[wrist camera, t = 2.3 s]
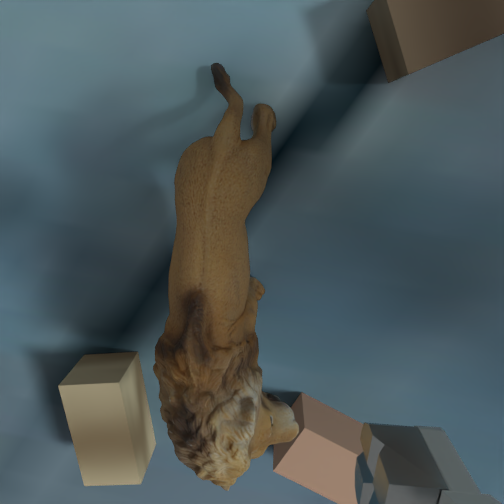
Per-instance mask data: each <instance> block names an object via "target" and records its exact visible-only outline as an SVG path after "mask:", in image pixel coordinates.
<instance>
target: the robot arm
mask: <svg viewBox="0 0 504 504" xmlns="http://www.w3.org/2000/svg"><path fill="white" fill-rule="evenodd" d="M360 441H361V444H362V448H363V452H362V453H361V454H360V455H359V456H357V459H356V466H355V492H356V499H357V504H502V503H500V502H499V501H498V500H496V499H495V498H494V497H492V496H491V495H489V494H481V492H480V490H479V489H478V487H477V485H476V484H475V482H474V480H473V479H472V477H471V475H470V474H469V472H468V470H467V468H466V467H465V465H464V463H463V462H462V460H461V458H460V457H459V455H458V453H457V452H456V450H455V448H454V446H453V445H452V443H451V441H450V440H449V438H448V436H447V435H446V433H445V431H444V430H443V429H441V428H440V427H428V426H414V427H413V426H402V425H389V424H377V423H364V425H363V427H362V431H361V436H360Z"/></svg>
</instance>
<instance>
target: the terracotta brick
mask: <svg viewBox="0 0 504 504" xmlns="http://www.w3.org/2000/svg"><path fill="white" fill-rule="evenodd" d="M291 409H292V411H293V413H294V418H295V421H296V422H297V424H298V426H299V432H298V434H297V436H296V437H295V438H294V439H293V440H292V441H290V442H282V443H277V444H274V454H273V471H274V472H276V473H278V474H280V475H282V476H284V477H286V478H288V479H290V480H292V481H294V482H296V483H298V484H300V485H302V486H304V487H306V488H308V489H310V490H312V491H314V492H316V493H318V494H320V495H322V496H324V497H326V498H328V499H330V500H332V501H334V502H336V503H338V504H357V499H356V492H355V466H356V459H357V456H359V455H360V454H361V453H362V452H363V448H362V444H361V441H360V436H361V431H362V427H363V425H364V424H362V423H360V422H358V421H356V420H354V419H352V418H350V417H348V416H346V415H345V414H343V413H341V412H339V411H337V410H335V409H333V408H331V407H329V406H327V405H325V404H323V403H322V402H320V401H318V400H316V399H314V398H312V397H310V396H308V395H306V394H304V393H302V392H301V394H300V395H299V396H298V398H297V399H296V401H295V402H294V404H293V405H292V406H291Z"/></svg>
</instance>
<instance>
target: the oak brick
mask: <svg viewBox="0 0 504 504" xmlns="http://www.w3.org/2000/svg"><path fill="white" fill-rule="evenodd" d="M58 387H59V391H60V395H61V399H62V402H63V406H64V410H65V414H66V418H67V421H68V425H69V429H70V433H71V437H72V440H73V444H74V448H75V452H76V456H77V459H78V463H79V467H80V471H81V475H82V478H83V482H84V486H101V485H130V484H141V483H142V480H143V477H144V475H145V472H146V469H147V467H148V464H149V461H150V459H151V456H152V453H153V451H154V448H155V445H156V442H155V437H154V431H153V426H152V421H151V416H150V411H149V406H148V401H147V395H146V390H145V385H144V380H143V375H142V370H141V365H140V359H139V354H138V352H123V353H106V354H89V355H84V356H83V357H82V358H81V359H80V360H79V362H78V363H77V364H76V365H75V366H74V368H73V369H72V370H71V371H70V372H69V373H68V375H67V376H66V377H65V378H64V379H63V381H62V382H61V383H60V384H59V385H58Z"/></svg>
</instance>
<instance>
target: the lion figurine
mask: <svg viewBox="0 0 504 504" xmlns="http://www.w3.org/2000/svg"><path fill="white" fill-rule="evenodd" d="M211 71H212V74H213V77H214V83H215V87H216V89H217V90H218V91H219V92H220V93H221V94H222V95H223V96H224V98H225V99H226V100H227V102H228V103H229V106H228V108H227V110H226V112H225V113H224V116H223V118H222V120H221V122H220V124H219V125H218V127H217V129H216V131H215V134H214V136H213V137H210V136H208V137H204V138H201V139H199V140H198V141H196V142H194V143H192V144H191V145H190V146H189V147H188V148H186V150H185V151H184V152H183V154H182V156H181V158H180V161H179V164H178V167H177V171H176V174H175V182H174V184H175V206H176V214H177V227H176V236H175V241H174V246H173V253H172V259H171V264H170V270H169V287H168V297H169V309H170V314H169V316H168V318H167V321H166V324H165V331H164V333H163V334H162V335H161V337H160V338H159V340H158V342H157V344H156V347H155V361H156V363H155V364H154V366H153V370H154V373H155V375H156V377H157V378H158V380H159V385H160V393H159V399H160V401H161V402H162V406H161V408H160V412H161V416H162V419H163V420H164V421H165V422H166V423H167V428H168V435H169V437H170V439H171V440H172V442H173V444H174V448H175V454H176V456H177V457H178V459H179V460H180V461H181V462H182V463H184V464H185V465H186V466H187V467H189V468H191V469H192V470H193V471H195V473H196V475H197V476H198V477H199V478H201V479H202V480H210V481H212V482H213V483H214V484H215V485H219V486H221V487H222V488H223V489H224V490H226V491H228V490H229V487H230V486H231V485H233V484H234V483H235V481H236V479H237V477H240V476H241V475H243V473H244V472H245V471H247V470H248V468H249V466H250V461H251V459H255V458H258V457H260V456H261V455H262V454H263V453H264V452H265V450H266V449H267V447H268V446H269V445H273V444H277V443H282V442H290V441H292V440H293V439H294V438H295V437H296V436H297V434H298V432H299V426H298V424H297V422H296V421H295V418H294V413H293V411H292V409H291V408H290V407H289V406H288V405H287V404H286V403H284V402H281V401H280V399H279V398H278V397H277V396H276V395H272V394H269V393H265V392H262V369H261V368H260V367H259V366H258V363H257V359H258V353H259V348H258V338H257V335H256V333H255V323H256V316H257V309H258V306H257V300H260V299H261V297H262V295H263V294H264V292H265V289H264V287H263V285H262V284H261V283H260V282H259V281H258V280H257V279H256V278H254V277H250V263H249V253H248V237H247V231H246V227H245V219H246V217H247V216H248V214H249V212H250V210H251V209H252V207H253V206H254V205H255V203H256V202H257V201H258V200H259V198H260V197H261V195H262V193H263V191H264V189H265V186H266V182H267V178H268V176H269V173H270V170H271V161H272V152H271V132H272V131H273V130H274V129H275V127H276V117H275V113H274V111H273V109H272V108H271V107H270V106H269V105H266V104H261V103H260V104H257V105H255V107H254V109H253V113H252V117H251V128H252V131H253V136H252V137H251V139H248V140H241V138H240V123H241V119H242V115H243V100H242V98H241V96H240V95H239V94H238V93H237V92H236V91H235V90H234V89H233V88H232V86H231V84H230V77H229V75H228V74H227V73H226V71H225V69H224V67H223V66H222V65H221V64H219V63H213V64H212V65H211Z"/></svg>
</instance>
